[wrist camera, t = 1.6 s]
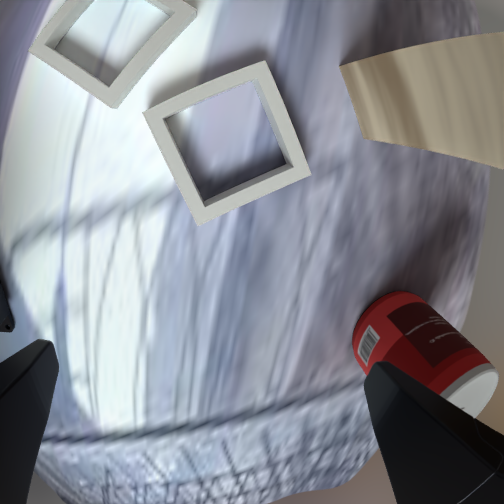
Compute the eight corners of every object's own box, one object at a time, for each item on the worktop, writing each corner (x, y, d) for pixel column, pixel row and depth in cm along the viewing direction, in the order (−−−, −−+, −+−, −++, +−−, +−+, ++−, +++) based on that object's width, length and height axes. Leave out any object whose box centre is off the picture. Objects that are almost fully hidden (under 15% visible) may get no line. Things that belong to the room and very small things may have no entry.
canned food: (363, 375, 27) (418, 462, 17) (335, 323, 24) (405, 428, 14) (427, 330, 27) (495, 403, 17) (412, 270, 24) (504, 347, 14)
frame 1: (117, 108, 16) (110, 107, 14) (38, 54, 13) (27, 50, 12) (196, 17, 14) (196, 9, 13) (112, -32, 12) (107, -42, 10)
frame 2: (197, 218, 19) (197, 226, 18) (146, 113, 16) (142, 112, 15) (302, 170, 19) (311, 174, 18) (259, 65, 16) (265, 60, 15)
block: (363, 138, 19) (537, 180, 7) (339, 66, 17) (512, 31, 5) (418, 120, 19) (579, 149, 7) (398, 53, 17) (561, 36, 5)
